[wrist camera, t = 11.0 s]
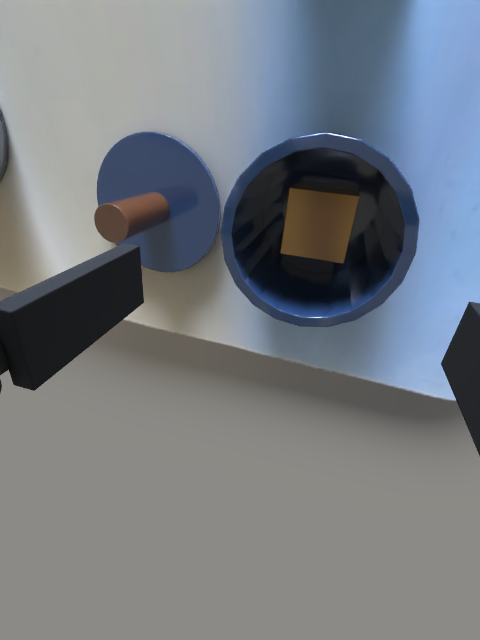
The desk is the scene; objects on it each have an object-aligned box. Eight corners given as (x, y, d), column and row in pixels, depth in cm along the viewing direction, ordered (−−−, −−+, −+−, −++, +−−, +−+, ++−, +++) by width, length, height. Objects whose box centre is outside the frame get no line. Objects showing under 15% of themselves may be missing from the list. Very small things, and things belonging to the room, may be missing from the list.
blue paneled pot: (235, 176, 32) (191, 190, 23) (373, 105, 27) (385, 87, 18) (284, 293, 36) (263, 344, 27) (413, 252, 31) (439, 298, 22)
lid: (81, 171, 36) (11, 178, 29) (182, 103, 30) (128, 90, 23) (145, 284, 40) (98, 316, 33) (244, 243, 35) (215, 271, 27)
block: (289, 238, 33) (280, 253, 28) (298, 180, 30) (289, 187, 26) (344, 246, 31) (343, 264, 27) (358, 187, 29) (359, 196, 25)
